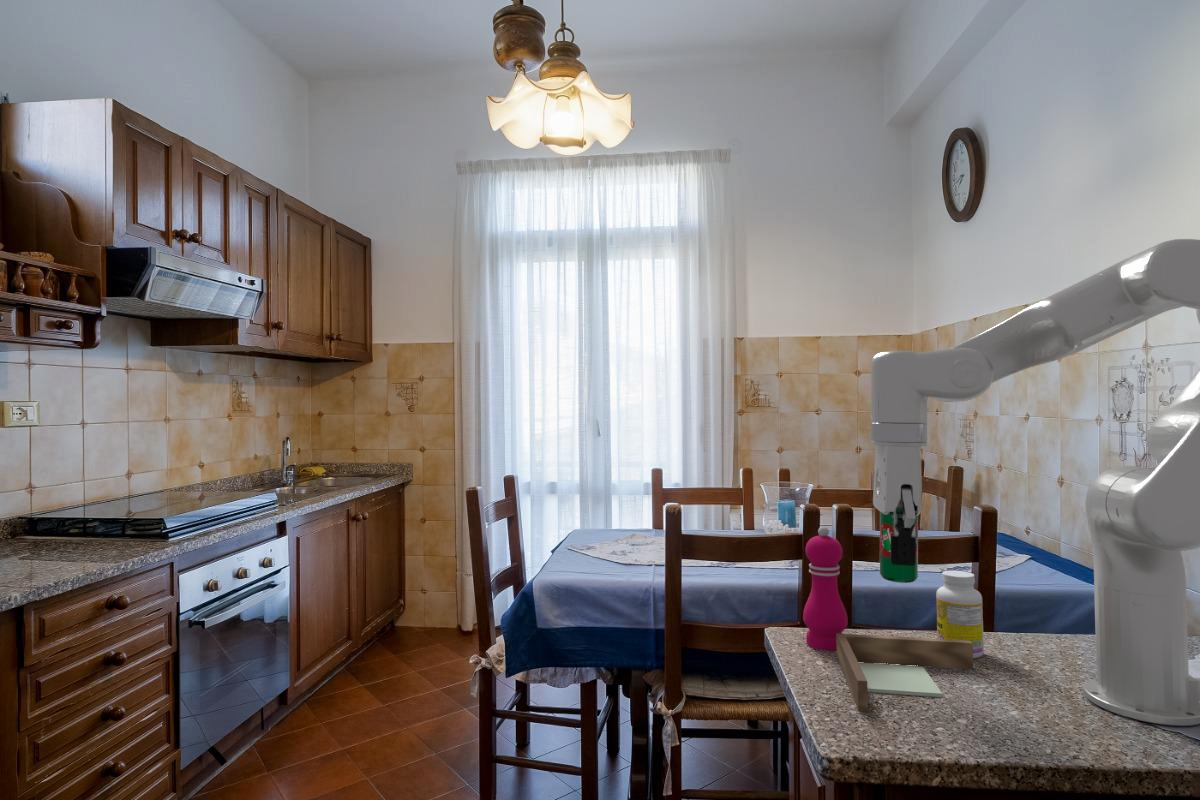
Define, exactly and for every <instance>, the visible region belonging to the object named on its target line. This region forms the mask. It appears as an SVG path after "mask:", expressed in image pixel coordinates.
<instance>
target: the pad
mask: <svg viewBox="0 0 1200 800" xmlns="http://www.w3.org/2000/svg"><path fill="white" fill-rule="evenodd" d="M859 665H860V667H861V669H862V671H863V673H864V675H865V677H866V680H867V690H868V693H877V694H891V695H892V694H893V695H904V696H905V695H907V696H916V697H918V696H919V697H920V696H921V697H932V698H933V697H934V698H936V697H937V698H944V697H943V696H944V695H943V692H942V691H941V689H940V688H939V686H938V685H937V684H936V683H935V681H934V680H933V678H932V677H931V676H930V674H929V673H928V672H927V670H926V669H925V667H922V666H906V665H890V664H874V663H859Z"/></svg>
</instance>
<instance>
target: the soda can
mask: <svg viewBox="0 0 1200 800" xmlns="http://www.w3.org/2000/svg"><path fill="white" fill-rule="evenodd" d="M913 504H914V510H916V506H915V503H914V501H913ZM896 514H903V510H896ZM902 520H903V519H902ZM899 521H900V519H898V522H899ZM898 525H899V524H898ZM915 533H916V536H915V537H916V564H915V565H914V566H907V565H893V564H892V563H891V561H890V547H891V536H893V526H892V512H890V513H889V515H885V514H883V513H882V512H880V511H879V575H880V576H881V577H882V578H883V579H884V580H886V581H889V582H894V583H901V584H910V583H914V582H915V581H916V580H917V579H918V578H919V565H918V564H919V515H917V516H915Z"/></svg>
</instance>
